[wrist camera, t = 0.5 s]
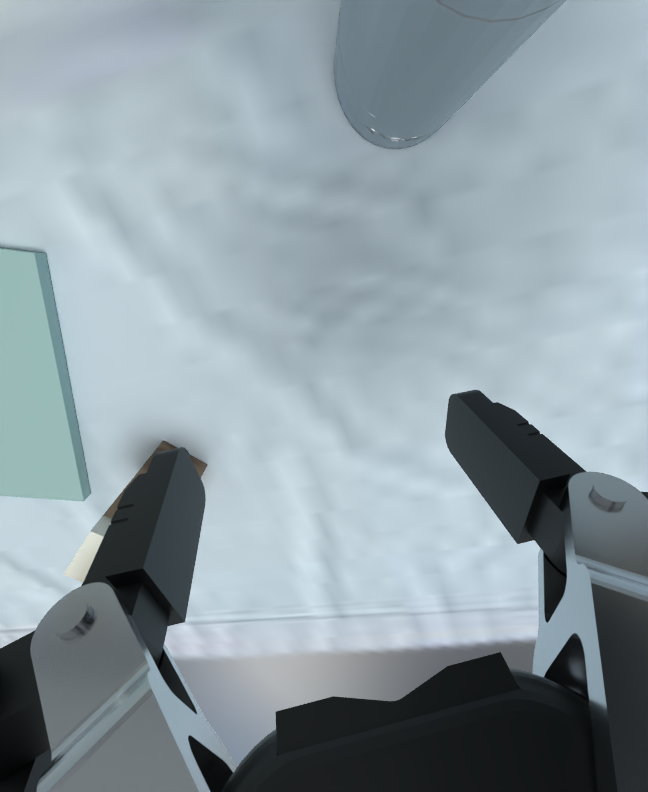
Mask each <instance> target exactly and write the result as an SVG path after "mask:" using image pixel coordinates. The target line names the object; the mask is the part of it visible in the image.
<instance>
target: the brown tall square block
mask: <svg viewBox="0 0 648 792" xmlns="http://www.w3.org/2000/svg"><path fill="white" fill-rule="evenodd" d="M172 449H177V448H176V447H175V446H173V445H171V444H169V443H167V442H165V441H163V442H162V443H161V444H160V446H159V447H158V448H157V449H156V451H155V452H154V453H153V454H152V456H151V457H150V458H149V459H148V460H147V462H146V463H145V464H144V465H143V467H142V468H141V469H140V470H139V472H138V473H137V474H136V475H135V477H134V478H133V479H132V480H131V482H130V483H129V484H128V485H127V486H126V488H127V487H128V486H129V485H130V484H131V483H132V481H133V480H134V479H135V478H136V477H137V476H138V475H139V474H144V473H147V470H148V468H149V465H150V463H151V460H152V458H153V456H154V454H155V453H157V452H162V451H167V450H172ZM190 457H191V460H192V462H193V464H194V466H195V468H196V470H197V472H198V474H199V476H200V478H201V476H202V474H203V472H204V470H205V468H206V466H207V464H206V463H204V462H202V461H200V460H198V459H196V458H195V457H193V456H191V455H190ZM126 488H125V489H126ZM125 489H124V490H123V491H122V493H121V494H120V495H119V496H118V498H117V499H116V500H115V501H114V503H113V504H112V505H111V506H110V508H109V509H108V510H107V511H106V512H105V514H104V515H103V516H102V517H101V519H100V520H99V521H98V522H97V524H96V525H95V526H94V527H93V529H92V530H91V531H90V533H89V534H88V536H87V537H86V539H85V541H84V542H83V544H82V545H81V547H80V549H79V550H78V552H77V553H76V555H75V556H74V558H73V560H72V561H71V563H70V564H69V566H68V568H67V569H66V571H65V572H64V574H63V575H66V576H68V577H71V578H73V579H76V580H78V581H81V582H84V580H85V577H86V575H87V573H88V571H89V569H90V566H91V564H92V562H93V560H94V557H95V555H96V553H97V551H98V548H99V546H100V544H101V542H102V540H103V537H104V535H105V533H106V531H107V528H108V526H109V525H111V520H112V517H113V515H114V513H115V511H117V506H118V504H119V502H120V499H121V497H122V495H123V493H124V491H125Z"/></svg>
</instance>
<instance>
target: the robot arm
mask: <svg viewBox="0 0 648 792" xmlns="http://www.w3.org/2000/svg"><path fill="white" fill-rule="evenodd" d="M565 1H566V0H341V8H340V14H339V23H338V32H337V41H336V50H335V59H334V74H335V85H336V89H337V94H338V99H339V101H340V104H341V106H342V109H343V111H344V113H345V115H346V117H347V118H348V120H349V121H350V123H351V125H352V126H353V127H354V128H355V129H356V130H357V131H358V132H359V133H360V134H361V135H362V136H363V137H364V138H365V139H367V140H369V141H370V142H372V143H374V144H375V145H379V146H382V147H385V148H399V149H401V148H405V147H410V146H414V145H416V144H418V143H420V142H422V141H424V140H426V139H427V138H428V137H430V136H431V135H432V134H433V133H435V132H436V131H437V130H438V129H439V128H440V127H441V126H442V125H443V124H444V123H445V122H446V121H447V120H448V119H449V118H450V117H451V116H452V115H453V114H454V113H455V112H456V111H457V110H458V109H459V108H460V107H461V106H462V105H463V104H464V103H465V102H466V101H467V100H468V99H469V98H470V97H471V96H472V95H473V94H474V93H475V92H476V91H477V90H478V89H479V88H480V87H481V86H482V85H483V84H484V83H485V82H486V81H487V80H488V79H489V78H490V77H491V76H492V75H493V74H494V73H495V72H496V71H497V70H498V69H499V68H500V67H501V66H502V65H503V64H504V63H505V62H506V61H507V60H508V59H509V58H510V57H511V56H512V55H513V54H514V53H515V52H516V50H517V49H518V48H519V47H520V46H521V45H522V44H523V43H524V42H525V41H526V40H527V39H528V38H529V37H530V36H531V35H532V34H533V33H534V32H535V31H536V30H537V29H538V28H539V27H540V26H541V25H542V24H543V23H544V22H545V21H546V20H547V19H548V18H549V17H550V16H551V15H552V14H553V13H554V12H555V11H556V10H557V9H558V8H559V7H560V6H561V5H562V4H563V3H564V2H565ZM539 432H540V431H538V430H537V429H536V428H535V427H534V426H533V425H531V424H530V425H529V423H528V421H527V420H526V419H524V418H523V417H522V416H521V415H520V414H519V413H517V412H516V411H515V410H513V409H511V408H509V407H506V406H504V405H502V404H500V403H498V402H497V403H493V402H492V401H490V400H489V399H488V398H487V397H486V396H485V395H484V394H483V393H482V392H480V391H479V390H472V391H467V392H462V393H457V394H452V395H451V396H450V398H449V403H448V412H447V421H446V430H445V438H446V443H447V446H448V448H449V451H450V452H451V454H452V455H453V457H454V458H455V459H456V461H457V462H458V463H459V465H460V466H461V467H462V469H463V470H464V472H465V473H466V474H467V476H468V477H469V478H470V480H471V481H472V483H473V484H474V485H475V487H476V488H477V489H478V491H479V492H480V493H481V495H482V496H483V498H484V499H485V500H486V502H487V503H488V504H489V506H490V507H491V509H492V510H493V511H494V513H495V514H496V515H497V517H498V518H499V519H500V521H501V522H502V524H503V525H504V526H505V528H506V529H507V530H508V532H509V533H510V535H511V536H512V537H513V539H514V540H515V541H516V543H517V544H520V543H524V542H528V541H532V540H535V541H536V543H537V544H538V545H539V547H540V548H541V549H540V551H539V555H538V582H539V629H538V637H537V642H536V646H535V652H534V660H533V674H532V673H529V672H525V671H521V670H516V669H511V668H508V666H507V664H506V662H505V660H504V658H503V656H502V654H501V652H500V653H496V654H492V655H488V656H485V657H481V658H477V659H473V660H469V661H466V662H462V663H458V664H455V665H451V666H447V667H446V668H444V669H443V670H442V671H440V672H439V673H437V674H436V675H434V676H433V677H432V678H430V679H429V680H427V681H426V682H424V683H423V684H422V685H420V686H419V687H418V688H416V689H415V690H413V691H412V692H410V693H409V694H408V695H406V696H405V697H403V698H402V699H400V700H397V701H390V702H389V701H378V700H366V699H356V698H344V697H330V698H326V699H322V700H319V701H315V702H311V703H307V704H303V705H300V706H296V707H292V708H288V709H285V710H281V711H277V712H276V730H274V731H273V732H271V733H270V734H268V735H267V736H266V737H265V738H264V739H263V740H262V741H260V742H259V743H258V744H257V745H256V746H255V747H254V748H253V749H252V750H251V751H250V752H249V754H248V755H247V756H246V757H245V758H244V759H243V760H242V761H241V763H240V764H239V766H238V767H236V766H235V764H234V762H233V760H232V758H231V757H230V755H229V753H228V751H227V750H226V748H225V746H224V745H223V743H222V741H221V740H220V738H219V737H218V735H217V734H216V733H215V731H214V730H213V728H212V727H211V726H210V724H209V723H208V721H207V720H206V719H205V717H204V715H203V713H202V712H201V710H200V708H199V706H198V704H197V702H196V701H195V699H194V697H193V695H192V693H191V691H190V690H189V688H188V686H187V684H186V682H185V681H184V679H183V677H182V675H181V673H180V671H179V670H178V668H177V666H176V664H175V662H174V660H173V658H172V657H171V655H170V653H169V651H168V649H167V647H166V646H165V645H164V641H165V636H166V631H167V626H170V625H174V624H178V623H183V622H185V618H186V612H187V607H188V601H189V595H190V589H191V583H192V578H193V572H194V566H195V560H196V554H197V549H198V543H199V537H200V531H201V525H202V520H203V514H204V508H205V490H204V486H203V483H202V481H201V479H200V476H199V474H198V472H197V470H196V468H195V466H194V464H193V462H192V460H191V457H190V455H189V453H188V451H187V450H186V449H185V448H183V447H182V448H177V449H172V450H167V451H162V452H157V453H155V454H154V456H153V458H152V460H151V463H150V465H149V468H148V470H147V473H144V474H139V475H138V476H137V477H136V478H135V479H134V480H133V481H132V483H131V484H130V485H129V486H128V487H127V488H126V489H125V491H124V493H123V495H122V497H121V499H120V502H119V504H118V506H117V511H115V513H114V515H113V517H112V520H111V525H109V526H108V528H107V531H106V533H105V535H104V537H103V540H102V542H101V544H100V546H99V548H98V551H97V553H96V555H95V557H94V560H93V562H92V564H91V566H90V569H89V571H88V573H87V575H86V577H85V580H84V582H83V584H82V586H81V587H79V588H77V589H75V590H73V591H71V592H70V593H68V594H67V595H65V596H64V597H63V598H62V599H60V600H59V601H58V602H57V603H56V604H55V605H54V606H53V607H52V608H51V609H50V610H49V611H48V612H47V613H46V615H45V616H44V617H43V619H42V620H41V622H40V623H39V625H38V627H37V628H36V630H35V631H33V632H31V633H30V634H28V635H26V636H24V637H22V638H20V639H18V640H16V641H14V642H12V643H10V644H8V645H7V646H5V647H3V648H1V649H0V792H648V492H640V491H639V490H638V489H636V488H635V487H634V486H632V485H631V484H629V483H627V482H625V481H624V480H621V479H619V478H617V477H614V476H611V475H608V474H604V473H599V472H586V471H585V470H584V469H583V468H581V467H580V466H579V465H578V464H577V463H576V462H574V461H573V460H572V459H571V458H570V457H569V456H567V455H566V454H565V453H564V452H563V451H562V450H561V449H559V448H558V447H557V446H556V445H555V444H554V443H552V442H551V441H550V440H549V439H548V438H547V437H545V436H544V435H543V434H540V433H539Z"/></svg>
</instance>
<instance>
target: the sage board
mask: <svg viewBox="0 0 648 792" xmlns="http://www.w3.org/2000/svg"><path fill="white" fill-rule="evenodd" d="M90 494H91V492H90V487H89V481H88V476H87V471H86V465H85V460H84V455H83V449H82V444H81V439H80V433H79V428H78V423H77V417H76V412H75V406H74V401H73V396H72V390H71V385H70V380H69V374H68V369H67V364H66V358H65V353H64V348H63V342H62V337H61V332H60V326H59V321H58V316H57V310H56V305H55V300H54V294H53V289H52V284H51V278H50V273H49V268H48V262H47V257H46V253H38V252H30V251H22V250H14V249H6V248H0V496H11V497H27V498H42V499H57V500H72V501H84V500H85V499H86V498H87V497H88V496H89V495H90Z"/></svg>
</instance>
